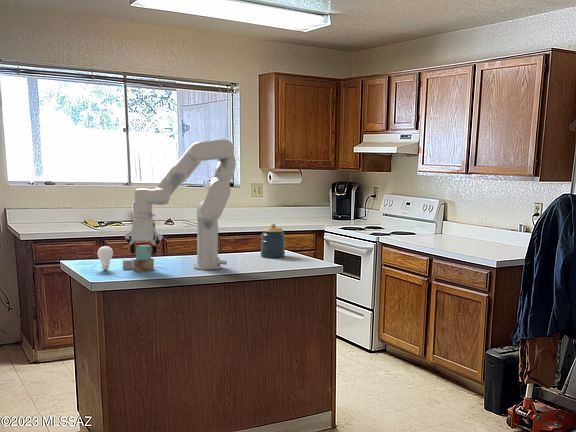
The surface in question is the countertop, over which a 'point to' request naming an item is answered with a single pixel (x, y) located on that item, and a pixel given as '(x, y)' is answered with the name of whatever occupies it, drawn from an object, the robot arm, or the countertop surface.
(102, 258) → the light bulb
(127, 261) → the grey cube
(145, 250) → the teal cube
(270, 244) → the canister
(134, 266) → the walnut block
